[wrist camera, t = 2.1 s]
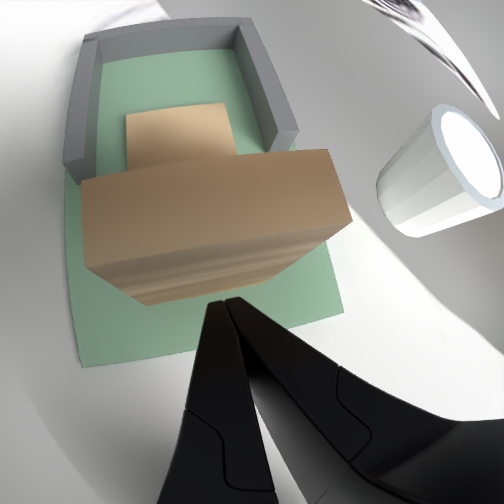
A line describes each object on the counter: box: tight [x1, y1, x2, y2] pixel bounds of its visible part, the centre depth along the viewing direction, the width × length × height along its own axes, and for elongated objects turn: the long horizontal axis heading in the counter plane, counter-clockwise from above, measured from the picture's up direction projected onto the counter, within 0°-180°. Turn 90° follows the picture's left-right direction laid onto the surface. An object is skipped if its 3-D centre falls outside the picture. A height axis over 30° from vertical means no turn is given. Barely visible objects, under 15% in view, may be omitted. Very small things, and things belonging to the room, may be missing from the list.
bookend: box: [81, 103, 353, 306], centre depth 12 cm, size 11×6×9 cm, turn 13°
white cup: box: [376, 104, 504, 238], centre depth 16 cm, size 7×7×7 cm
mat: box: [64, 49, 344, 367], centre depth 17 cm, size 22×14×1 cm, turn 13°
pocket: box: [63, 17, 299, 185], centre depth 16 cm, size 12×12×2 cm
